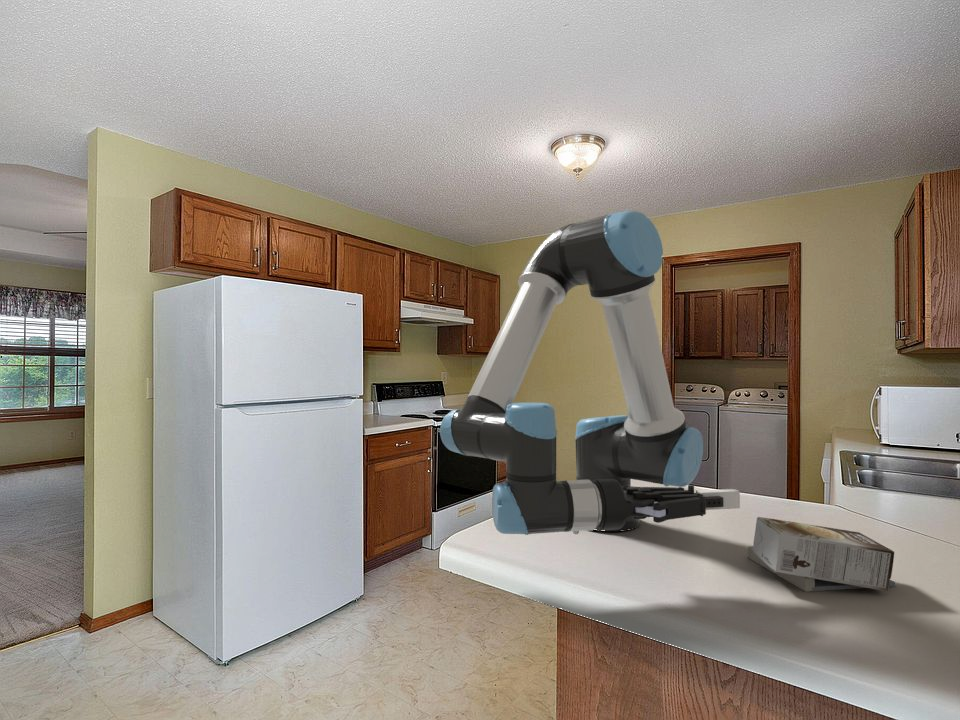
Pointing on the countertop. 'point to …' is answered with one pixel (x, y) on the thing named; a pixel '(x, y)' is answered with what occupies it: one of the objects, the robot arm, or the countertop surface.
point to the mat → (806, 578)
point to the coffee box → (823, 553)
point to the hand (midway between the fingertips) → (736, 498)
